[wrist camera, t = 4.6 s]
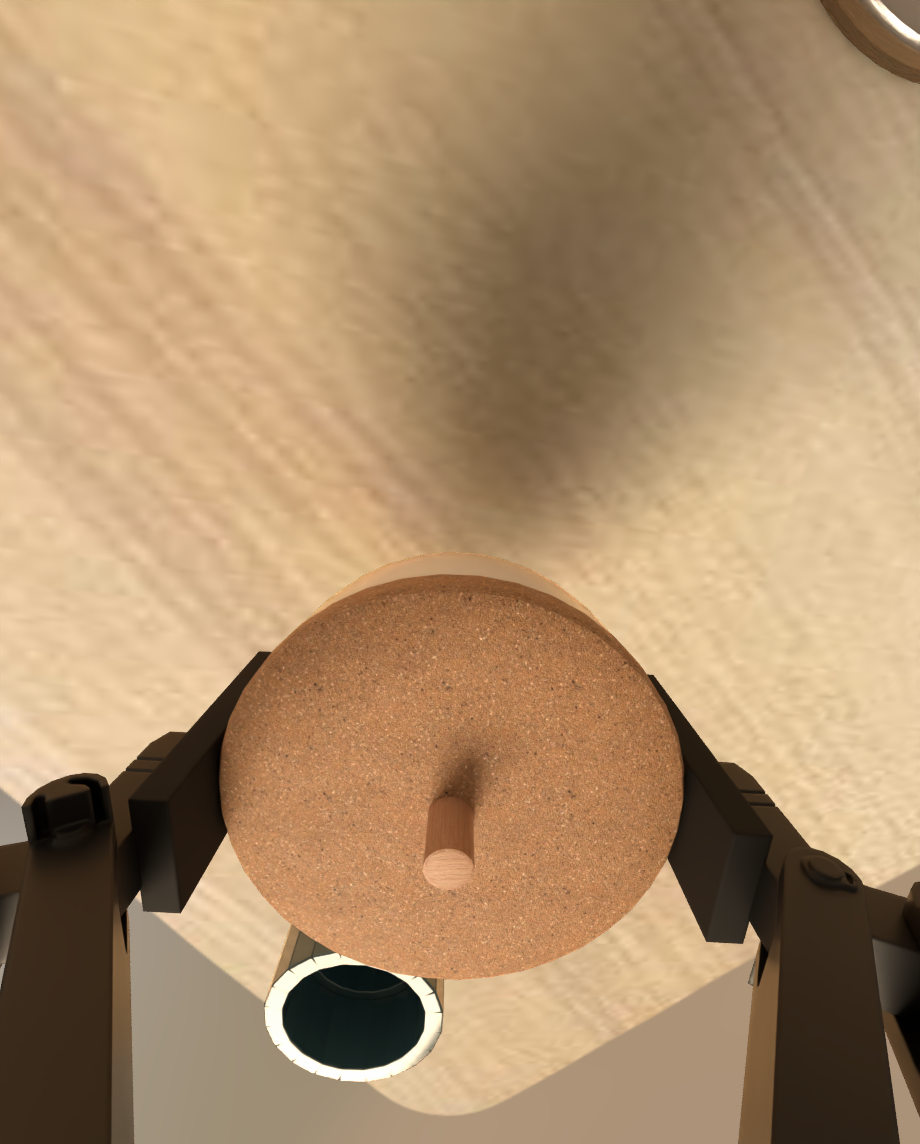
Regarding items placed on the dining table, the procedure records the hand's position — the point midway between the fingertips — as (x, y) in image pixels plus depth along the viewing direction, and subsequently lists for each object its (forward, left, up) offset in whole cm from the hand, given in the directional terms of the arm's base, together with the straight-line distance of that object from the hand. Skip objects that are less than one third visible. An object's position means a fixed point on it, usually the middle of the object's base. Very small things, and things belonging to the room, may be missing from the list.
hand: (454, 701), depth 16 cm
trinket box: (0, 0, -3) cm, 3 cm away
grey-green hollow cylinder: (+3, +16, -8) cm, 18 cm away
